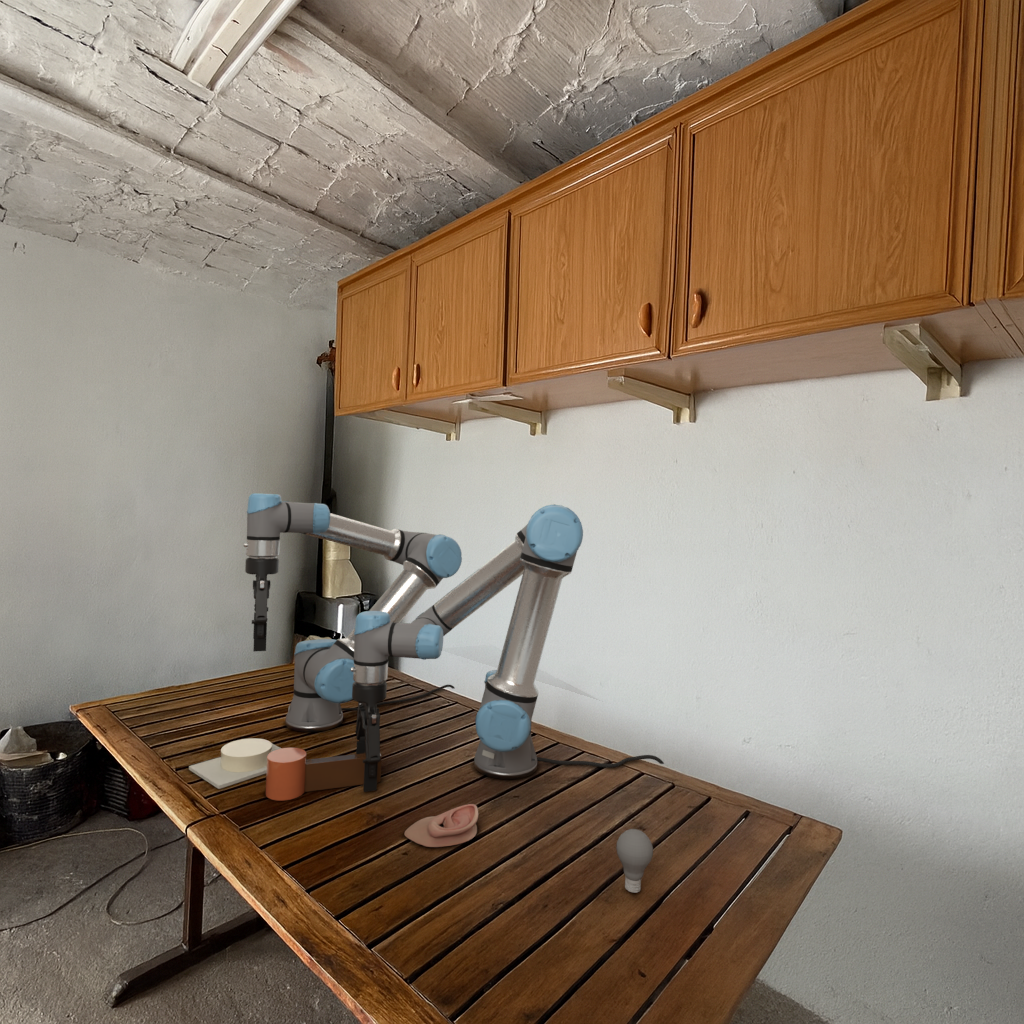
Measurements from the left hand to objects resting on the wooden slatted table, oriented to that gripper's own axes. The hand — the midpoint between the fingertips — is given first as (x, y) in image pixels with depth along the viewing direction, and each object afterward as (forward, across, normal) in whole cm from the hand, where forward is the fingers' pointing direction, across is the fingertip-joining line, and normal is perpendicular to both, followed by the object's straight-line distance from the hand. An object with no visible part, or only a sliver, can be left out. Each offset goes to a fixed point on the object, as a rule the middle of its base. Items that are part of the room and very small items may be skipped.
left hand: (259, 644), depth 154 cm
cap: (+26, +7, -2) cm, 27 cm away
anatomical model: (+27, +49, +33) cm, 65 cm away
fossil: (+27, -59, +22) cm, 69 cm away
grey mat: (+27, +7, -2) cm, 28 cm away
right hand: (+26, +23, +23) cm, 42 cm away
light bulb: (+27, +76, +58) cm, 100 cm away
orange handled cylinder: (+27, +23, +14) cm, 38 cm away
